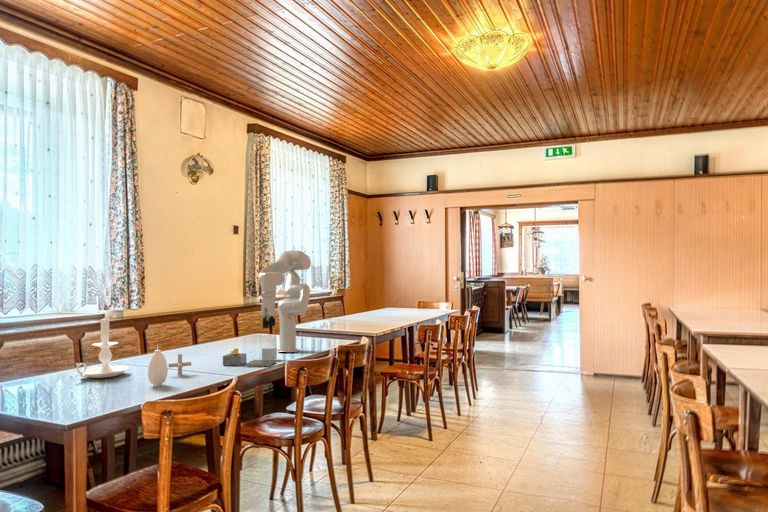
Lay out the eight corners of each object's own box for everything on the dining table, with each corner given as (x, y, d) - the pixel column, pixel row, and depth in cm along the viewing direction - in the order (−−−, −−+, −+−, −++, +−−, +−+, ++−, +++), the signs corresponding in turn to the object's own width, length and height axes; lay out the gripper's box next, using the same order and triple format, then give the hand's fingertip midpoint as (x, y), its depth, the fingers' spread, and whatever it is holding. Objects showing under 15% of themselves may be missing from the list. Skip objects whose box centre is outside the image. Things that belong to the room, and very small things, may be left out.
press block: (230, 362, 277) (230, 353, 277) (246, 362, 276) (246, 353, 276) (222, 365, 268) (222, 356, 268) (239, 366, 267) (239, 356, 267)
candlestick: (61, 381, 237) (61, 319, 238) (110, 371, 260) (110, 314, 260) (91, 384, 228) (90, 320, 229) (139, 374, 251) (138, 315, 251)
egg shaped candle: (146, 388, 218) (146, 345, 219) (149, 384, 226) (149, 343, 226) (166, 387, 220) (166, 344, 221) (168, 383, 228) (168, 342, 228)
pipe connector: (168, 374, 248) (168, 353, 248) (190, 372, 252) (190, 351, 252) (169, 378, 239) (168, 356, 239) (192, 376, 243) (192, 354, 243)
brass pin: (232, 357, 274) (232, 348, 274) (239, 357, 274) (239, 348, 274) (230, 358, 271) (229, 349, 271) (236, 358, 270) (236, 349, 270)
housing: (266, 359, 286) (266, 346, 286) (276, 359, 285) (276, 346, 285) (262, 361, 280) (262, 348, 280) (272, 361, 279) (272, 348, 279)
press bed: (254, 362, 276) (254, 359, 276) (275, 362, 274) (275, 360, 274) (245, 367, 264) (245, 364, 264) (267, 367, 263) (267, 364, 263)
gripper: (267, 294, 292) (268, 325, 292) (256, 296, 275) (256, 328, 274) (280, 294, 291) (280, 325, 291) (269, 296, 274) (270, 328, 273)
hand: (269, 326), depth 283 cm, fingers open, 9 cm apart
